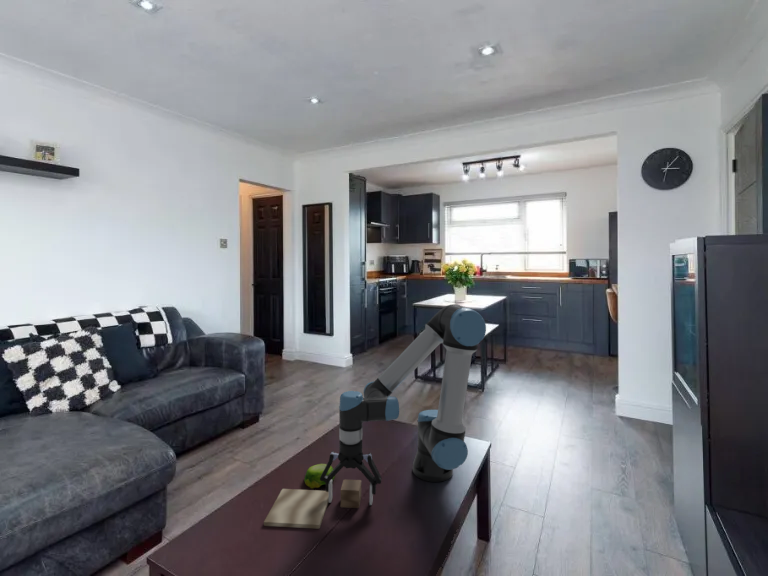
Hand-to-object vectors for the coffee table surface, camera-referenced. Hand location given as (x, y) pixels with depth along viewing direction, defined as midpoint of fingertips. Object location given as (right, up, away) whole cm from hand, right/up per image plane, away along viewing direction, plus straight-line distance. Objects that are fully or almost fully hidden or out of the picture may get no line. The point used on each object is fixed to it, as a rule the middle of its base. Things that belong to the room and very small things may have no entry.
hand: (350, 501), depth 129 cm
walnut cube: (0, 0, 0) cm, 0 cm away
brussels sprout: (-12, 0, +13) cm, 18 cm away
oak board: (-16, 0, -4) cm, 17 cm away
